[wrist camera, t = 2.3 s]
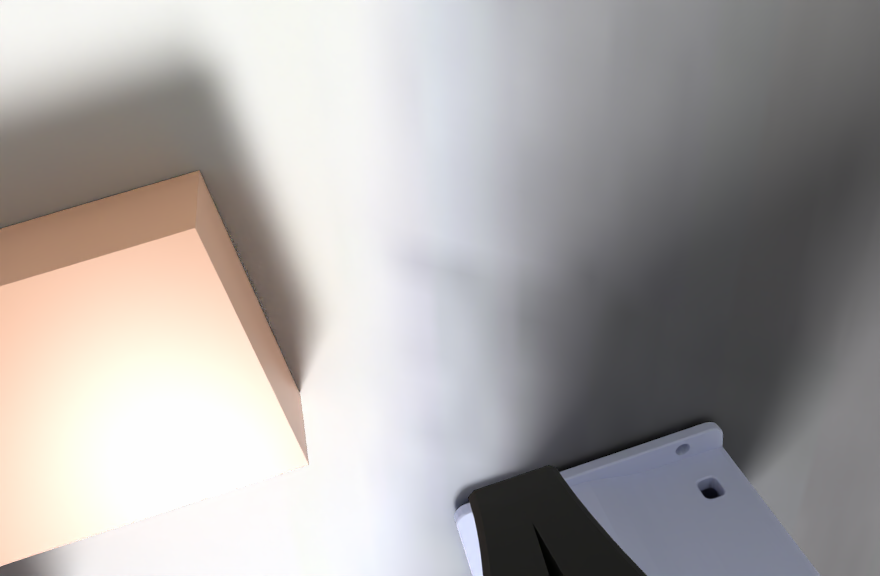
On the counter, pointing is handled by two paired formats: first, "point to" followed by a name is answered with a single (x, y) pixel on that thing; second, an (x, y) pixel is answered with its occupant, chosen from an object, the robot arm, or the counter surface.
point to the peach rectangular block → (132, 368)
